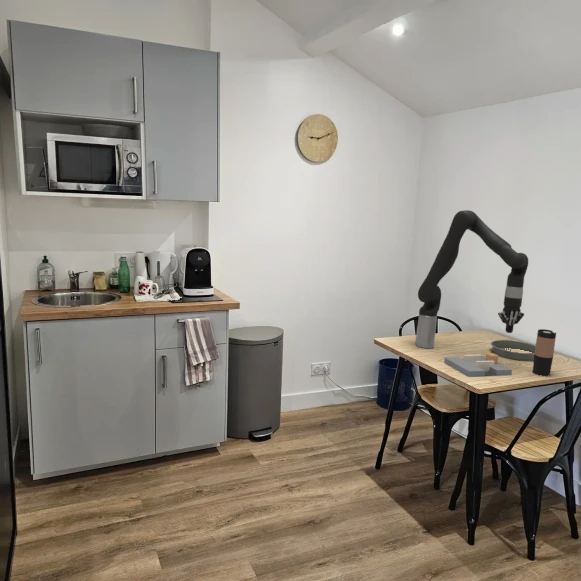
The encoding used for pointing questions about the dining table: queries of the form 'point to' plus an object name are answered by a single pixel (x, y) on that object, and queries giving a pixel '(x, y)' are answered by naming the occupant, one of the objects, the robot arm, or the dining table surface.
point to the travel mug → (544, 352)
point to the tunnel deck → (477, 366)
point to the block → (492, 357)
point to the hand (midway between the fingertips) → (508, 332)
